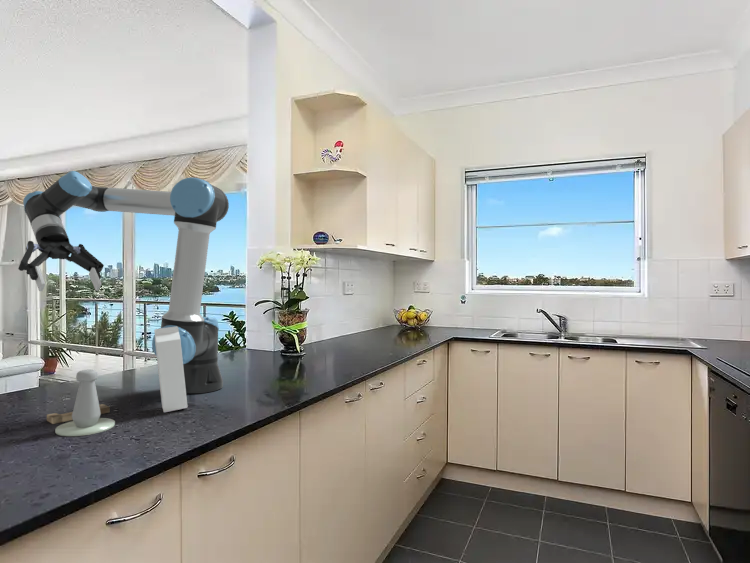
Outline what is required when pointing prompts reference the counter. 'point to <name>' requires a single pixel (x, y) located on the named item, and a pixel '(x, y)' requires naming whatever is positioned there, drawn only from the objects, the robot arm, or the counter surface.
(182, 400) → the milk
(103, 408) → the oak holder
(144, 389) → the counter surface
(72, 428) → the disc
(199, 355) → the robot arm
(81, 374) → the salt shaker
